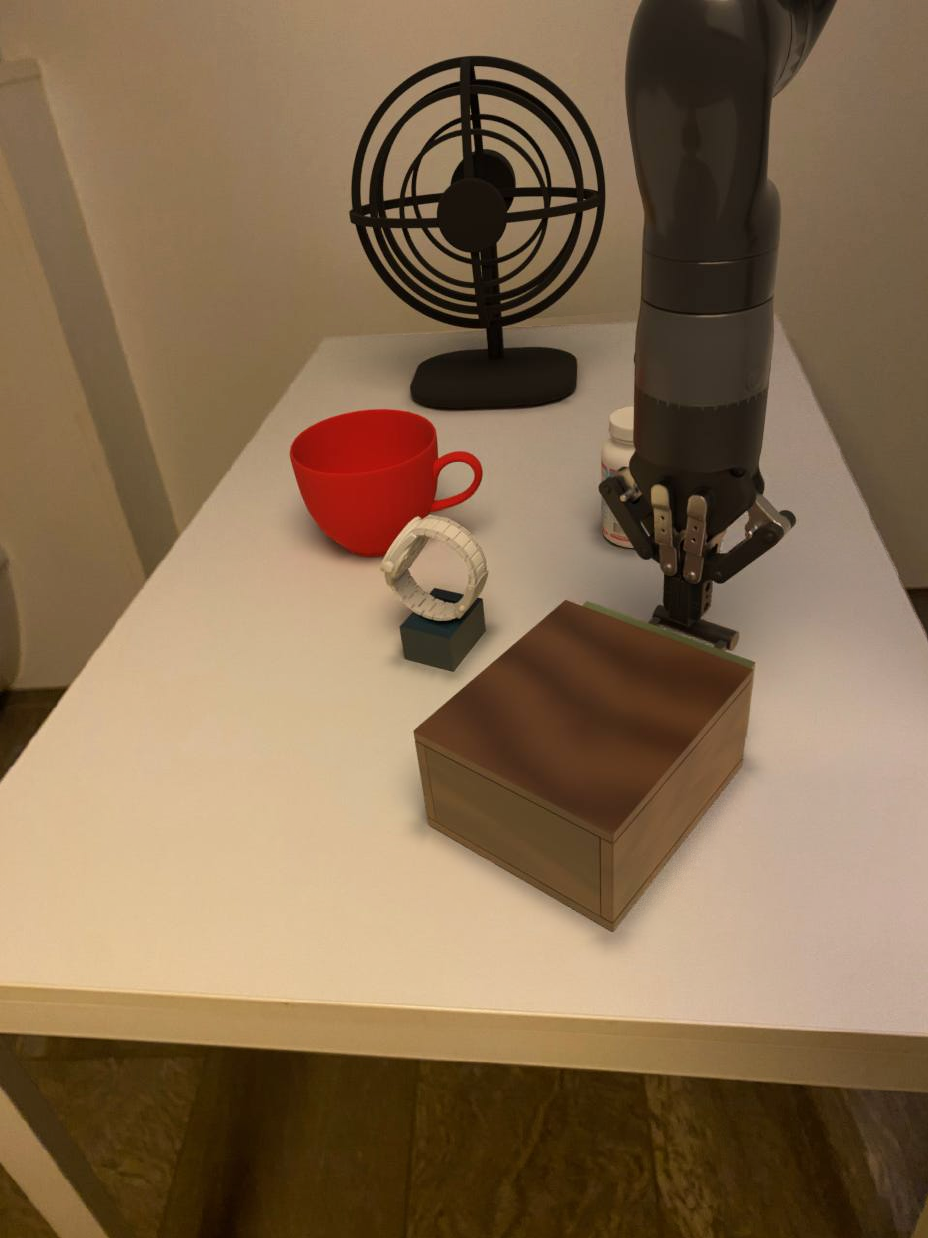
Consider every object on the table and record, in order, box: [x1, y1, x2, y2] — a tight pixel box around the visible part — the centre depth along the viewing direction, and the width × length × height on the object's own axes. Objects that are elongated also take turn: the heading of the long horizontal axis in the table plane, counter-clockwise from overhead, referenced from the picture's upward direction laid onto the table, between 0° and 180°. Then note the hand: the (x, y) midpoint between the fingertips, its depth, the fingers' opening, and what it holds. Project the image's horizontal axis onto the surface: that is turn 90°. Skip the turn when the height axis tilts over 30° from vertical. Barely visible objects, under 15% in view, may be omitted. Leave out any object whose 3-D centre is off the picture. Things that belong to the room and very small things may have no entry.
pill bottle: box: [600, 405, 650, 549], centre depth 83 cm, size 6×6×11 cm
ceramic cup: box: [289, 408, 484, 557], centre depth 86 cm, size 13×17×10 cm
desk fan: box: [348, 55, 607, 409], centre depth 105 cm, size 27×18×35 cm, turn 84°
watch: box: [379, 514, 490, 672], centre depth 72 cm, size 6×8×11 cm
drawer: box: [581, 600, 756, 739], centre depth 62 cm, size 19×12×6 cm, turn 141°
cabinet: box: [412, 599, 753, 932], centre depth 59 cm, size 16×14×8 cm
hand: (685, 617), depth 65 cm, fingers closed
